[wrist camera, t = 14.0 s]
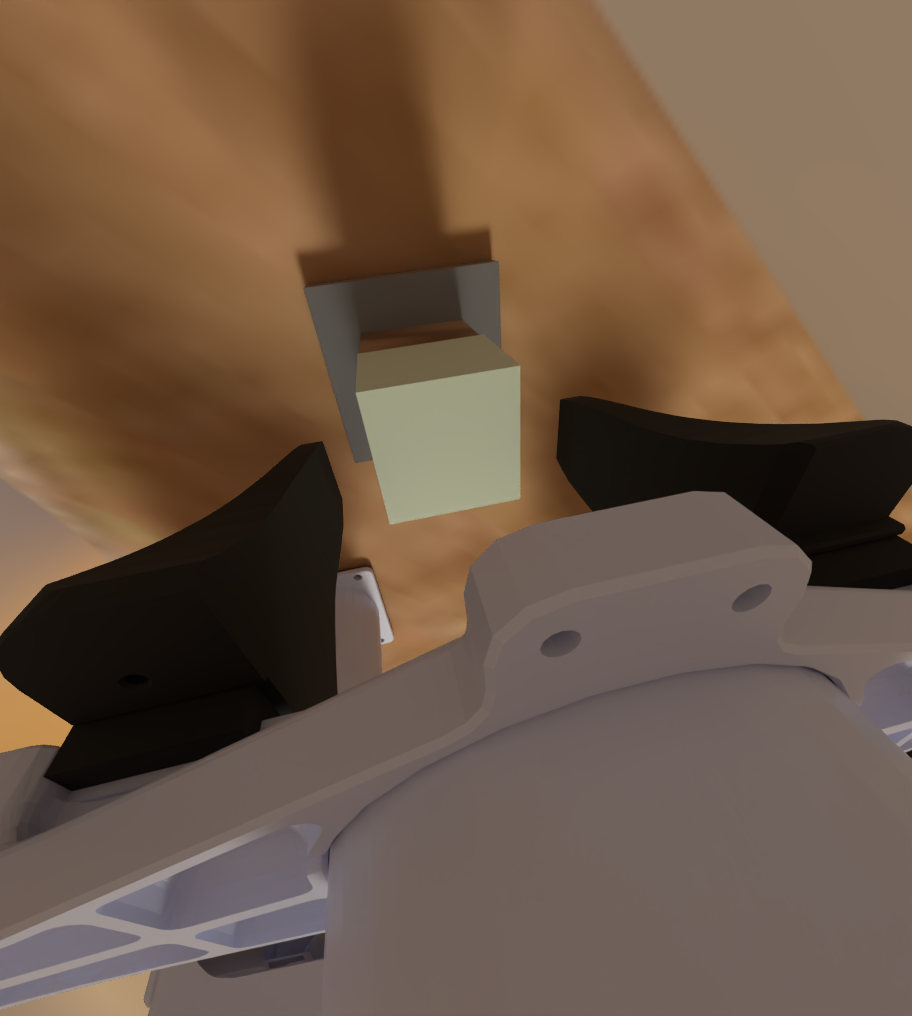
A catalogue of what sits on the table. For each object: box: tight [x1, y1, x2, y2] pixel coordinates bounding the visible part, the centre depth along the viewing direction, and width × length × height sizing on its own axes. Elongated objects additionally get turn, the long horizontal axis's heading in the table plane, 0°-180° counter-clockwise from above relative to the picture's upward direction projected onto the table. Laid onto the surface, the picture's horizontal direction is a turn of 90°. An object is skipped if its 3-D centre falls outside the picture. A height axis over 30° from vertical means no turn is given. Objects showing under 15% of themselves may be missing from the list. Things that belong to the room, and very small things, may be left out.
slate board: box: [304, 260, 501, 463], centre depth 18 cm, size 8×8×1 cm
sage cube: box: [356, 334, 520, 525], centre depth 13 cm, size 4×4×4 cm
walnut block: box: [360, 320, 479, 353], centre depth 17 cm, size 4×4×4 cm
